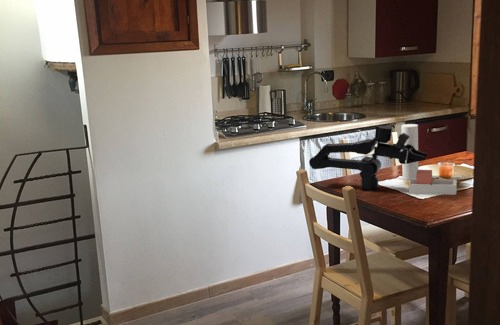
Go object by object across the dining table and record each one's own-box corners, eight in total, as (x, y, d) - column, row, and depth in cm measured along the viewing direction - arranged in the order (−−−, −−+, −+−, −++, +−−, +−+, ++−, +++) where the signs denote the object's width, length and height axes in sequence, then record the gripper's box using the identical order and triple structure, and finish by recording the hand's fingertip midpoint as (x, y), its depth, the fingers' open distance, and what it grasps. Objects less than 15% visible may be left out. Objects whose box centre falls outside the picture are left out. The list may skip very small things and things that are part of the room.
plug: (416, 191, 221) (416, 173, 219) (417, 187, 226) (417, 169, 225) (431, 192, 219) (431, 173, 217) (432, 187, 224) (432, 169, 222)
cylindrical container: (421, 177, 242) (421, 124, 236) (411, 181, 238) (410, 127, 232) (409, 175, 247) (408, 123, 242) (399, 178, 244) (398, 126, 238)
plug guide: (408, 193, 221) (408, 184, 220) (410, 187, 229) (410, 178, 228) (456, 194, 214) (456, 185, 213) (456, 188, 222) (456, 179, 221)
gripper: (388, 134, 214) (428, 140, 208) (395, 130, 231) (431, 135, 225) (384, 161, 216) (423, 167, 211) (391, 154, 233) (427, 161, 228)
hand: (426, 157), depth 218 cm, fingers open, 9 cm apart
